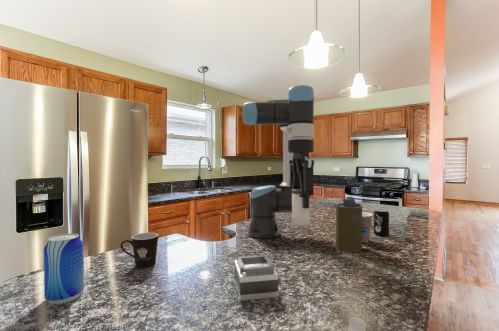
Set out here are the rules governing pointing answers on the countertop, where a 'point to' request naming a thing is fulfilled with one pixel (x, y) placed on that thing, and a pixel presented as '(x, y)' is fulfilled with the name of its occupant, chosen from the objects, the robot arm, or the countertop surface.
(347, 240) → the canister
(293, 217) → the beige and black cylinder
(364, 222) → the coffee cup
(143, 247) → the coffee mug
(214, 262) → the countertop surface
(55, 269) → the beer can
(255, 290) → the grey square holder base
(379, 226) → the beverage can
